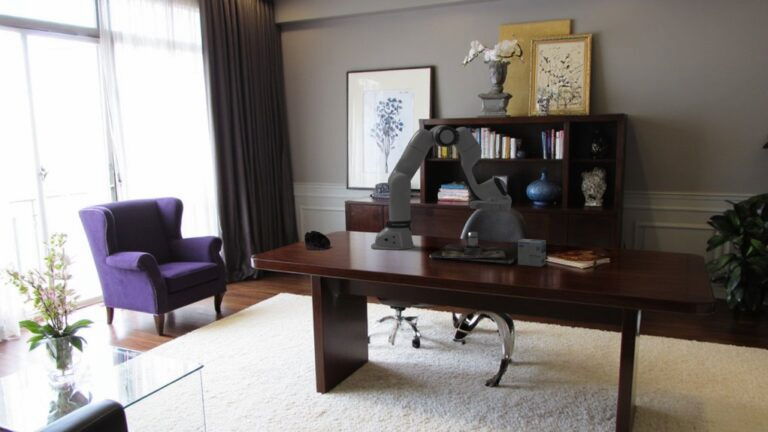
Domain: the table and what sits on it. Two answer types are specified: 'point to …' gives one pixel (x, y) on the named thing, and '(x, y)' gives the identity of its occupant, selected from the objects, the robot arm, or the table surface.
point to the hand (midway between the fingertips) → (484, 207)
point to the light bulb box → (532, 252)
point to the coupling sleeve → (473, 240)
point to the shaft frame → (473, 252)
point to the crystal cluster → (316, 241)
